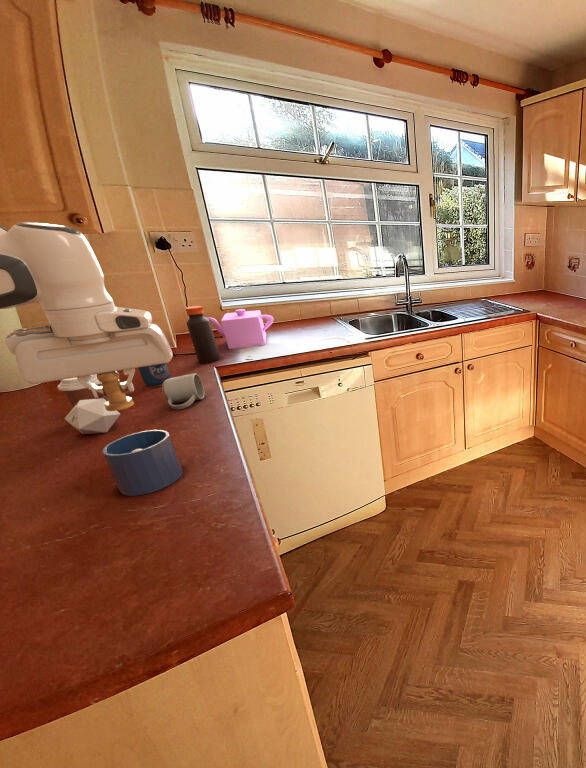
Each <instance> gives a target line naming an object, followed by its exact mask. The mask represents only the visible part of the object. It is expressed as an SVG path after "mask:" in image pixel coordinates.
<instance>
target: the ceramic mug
mask: <svg viewBox="0 0 586 768" xmlns="http://www.w3.org/2000/svg"><path fill="white" fill-rule="evenodd" d="M161 390H162V394H163V397H164V399H165V400H166V401H167V402H168V406H170V408H172V409H174V410H183V409H187V408H189V407H190V406H191V405H192V404H194V403H195V401H200V400H203V399H204V398H205V387H204V383H203V381H202V379H201V377H200V375H199V374H198V373H196V372H195V373H190V374H185V375H180V376H175V377H171V378H170V379H167V380H165V381H164V382H163V384H162V386H161ZM180 403H182V404H180Z"/></svg>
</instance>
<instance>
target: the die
mask: <svg viewBox="0 0 586 768" xmlns="http://www.w3.org/2000/svg"><path fill="white" fill-rule="evenodd" d="M105 402H107V401H106V400H105V399H104V398H103V399H89V400H79V402H78V403H77V404H76V405H75V406H74V408H73V407H72V408H71V410H70V411H69V412H68V413H67V414H66V416H65V417H64V420H65V421H66V422H67V423H68V424H70V425H71V427H73V428H74V429H75V430H77V431H78V432H80V434H81V435H92V434H103V433H108V431H109V430H110V429H111V428H112V426H114V424H115V422H116V421H117V419H118V418H119V417H120V416H121V413H120V412H119V410H117V411H107V410H106V408H105V405H104V403H105Z"/></svg>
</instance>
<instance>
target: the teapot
mask: <svg viewBox="0 0 586 768" xmlns="http://www.w3.org/2000/svg"><path fill="white" fill-rule="evenodd" d="M205 317H206V318H207V319H209V321H210V324H212V325H213V327H214V328H215V330H216V331H217V332H218V333H219V334H220V335H221V336H222V337H225V340H226V344H227V348H228V350H232V349H240V348H250V347H255V346H263V345H266V340H267V333H266V330H267V329H269V328H270V327H271V325H272V324H273V323H274V320H275V317H274V316H272V315H271V314H270V315H269V314H262V312H261V310H260V309H259V310H247V311H246V309H245V308H239V309H235V310H234V312H226V313H224V315H223V316H222V318H221V320H220V322H221V324H220V323H219V321H218V320H217V319H216V318H214V317H211V316H208V317H207V316H205ZM263 319H266V320H267V321H266V323H264V321H263Z"/></svg>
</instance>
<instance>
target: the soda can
mask: <svg viewBox="0 0 586 768" xmlns="http://www.w3.org/2000/svg"><path fill="white" fill-rule="evenodd" d="M167 364H168V363H163V364H157V365H150V366H144V367H138V371H139V375H140V376H141V379H142V382H143V384H144V385H145V386H147V387H148V388H149V387H150V388H156V387H162V384H163V382H164V381H165V380H167V379H170V378H172V377H171V373H170V371H169V367H168V365H167Z"/></svg>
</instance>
